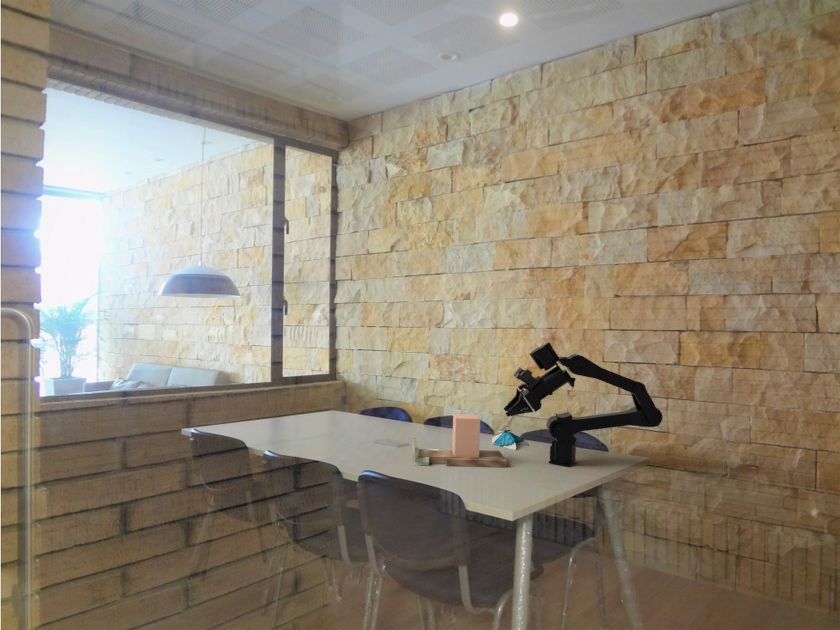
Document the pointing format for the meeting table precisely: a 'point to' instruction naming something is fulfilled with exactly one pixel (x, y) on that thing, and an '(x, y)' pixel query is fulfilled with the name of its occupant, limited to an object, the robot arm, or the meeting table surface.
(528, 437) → the meeting table surface
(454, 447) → the block
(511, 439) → the decorative butterfly
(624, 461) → the meeting table surface
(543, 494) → the meeting table surface
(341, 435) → the meeting table surface
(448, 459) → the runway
